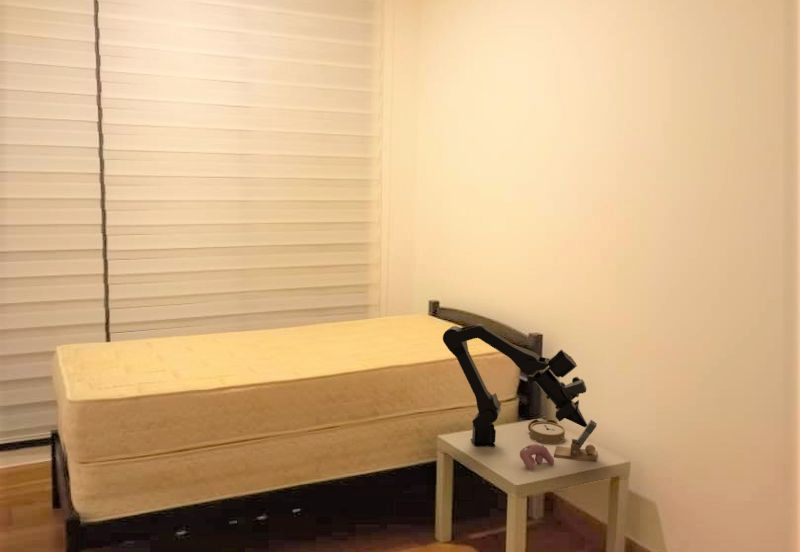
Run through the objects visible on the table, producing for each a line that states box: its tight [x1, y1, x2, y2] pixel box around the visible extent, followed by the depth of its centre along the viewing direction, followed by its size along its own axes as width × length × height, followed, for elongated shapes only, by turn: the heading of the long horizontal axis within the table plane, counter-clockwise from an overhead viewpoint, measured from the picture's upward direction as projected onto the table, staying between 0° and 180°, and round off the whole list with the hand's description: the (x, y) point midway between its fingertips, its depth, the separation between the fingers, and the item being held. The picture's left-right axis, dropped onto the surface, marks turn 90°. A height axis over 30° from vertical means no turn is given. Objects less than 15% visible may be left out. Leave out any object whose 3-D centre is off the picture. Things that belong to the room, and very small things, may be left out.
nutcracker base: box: [553, 438, 598, 463], centre depth 229 cm, size 12×8×4 cm, turn 73°
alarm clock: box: [527, 419, 566, 444], centre depth 246 cm, size 11×5×15 cm
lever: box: [574, 419, 597, 449], centre depth 228 cm, size 2×3×10 cm, turn 164°
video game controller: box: [519, 443, 555, 471], centre depth 219 cm, size 10×5×7 cm, turn 123°
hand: (586, 426), depth 227 cm, fingers closed
